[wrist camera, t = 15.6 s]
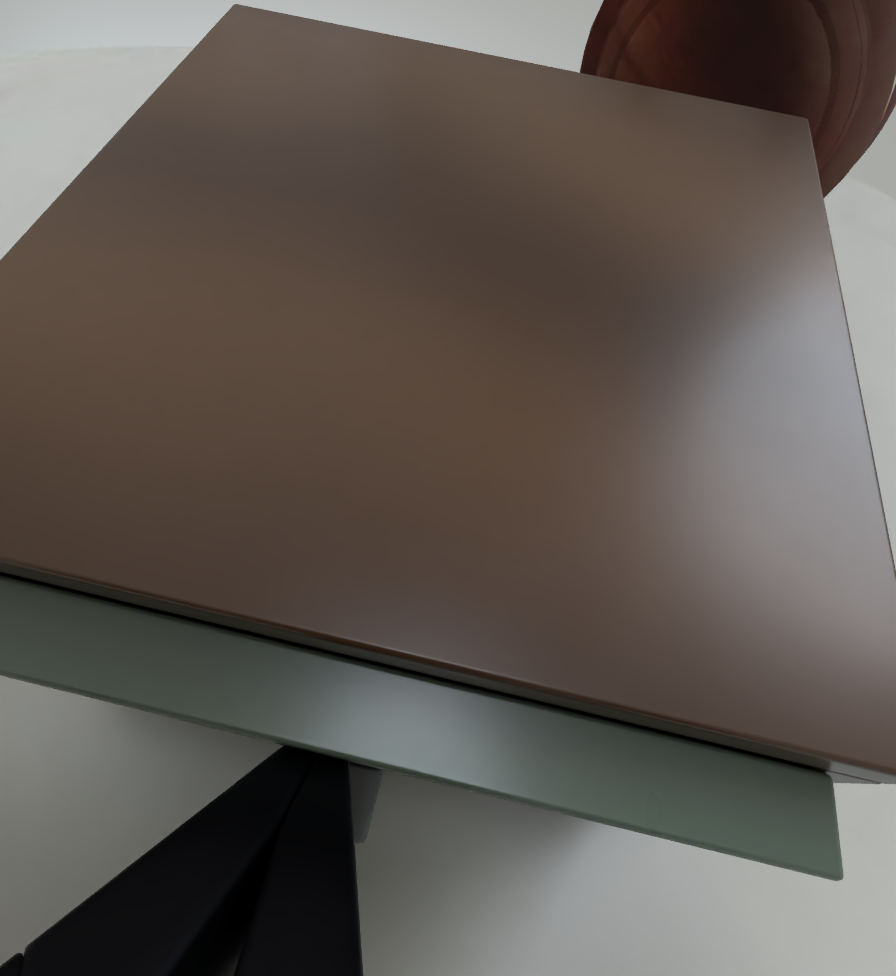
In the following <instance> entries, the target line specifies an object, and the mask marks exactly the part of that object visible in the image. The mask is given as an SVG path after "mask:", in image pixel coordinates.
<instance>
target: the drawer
mask: <svg viewBox="0 0 896 976" xmlns="http://www.w3.org/2000/svg"><path fill="white" fill-rule="evenodd" d="M0 675H1V676H5V677H9V678H13V679H17V680H21V681H25V682H29V683H33V684H37V685H41V686H46V687H50V688H54V689H58V690H62V691H66V692H70V693H74V694H78V695H82V696H86V697H90V698H94V699H98V700H102V701H106V702H111V703H115V704H119V705H123V706H127V707H131V708H135V709H139V710H143V711H147V712H151V713H155V714H159V715H163V716H167V717H171V718H176V719H180V720H184V721H188V722H192V723H196V724H200V725H204V726H208V727H212V728H216V729H220V730H224V731H228V732H232V733H237V734H241V735H245V736H249V737H253V738H257V739H261V740H265V741H269V742H273V743H277V744H281V745H285V746H289V747H293V748H297V749H302V750H306V751H310V752H314V753H318V754H322V755H326V756H330V757H334V758H338V759H342V760H346V761H349V769H350V784H351V799H352V814H353V829H354V844H359V843H363V842H364V841H365V839H366V837H367V833H368V829H369V825H370V821H371V817H372V813H373V809H374V804H375V800H376V796H377V792H378V788H379V784H380V780H381V776H382V770H381V769H383V770H387V771H391V772H395V773H399V774H403V775H407V776H411V777H415V778H419V779H423V780H427V781H432V782H436V783H440V784H444V785H448V786H452V787H456V788H460V789H464V790H468V791H472V792H476V793H480V794H484V795H488V796H492V797H497V798H501V799H505V800H509V801H513V802H517V803H521V804H525V805H529V806H533V807H537V808H541V809H545V810H549V811H553V812H557V813H562V814H566V815H570V816H574V817H578V818H582V819H586V820H590V821H594V822H598V823H602V824H606V825H610V826H614V827H618V828H623V829H627V830H631V831H635V832H639V833H643V834H647V835H651V836H655V837H659V838H663V839H667V840H671V841H675V842H679V843H683V844H688V845H692V846H696V847H700V848H704V849H708V850H712V851H716V852H720V853H724V854H728V855H732V856H736V857H740V858H744V859H748V860H753V861H757V862H761V863H765V864H769V865H773V866H777V867H781V868H785V869H789V870H793V871H797V872H801V873H805V874H809V875H813V876H818V877H822V878H826V879H830V880H834V881H839V880H842V879H843V868H842V859H841V850H840V841H839V832H838V823H837V815H836V806H835V797H834V788H833V780H832V778H831V776H830V775H828V774H826V773H824V772H820V771H816V770H812V769H808V768H804V767H799V766H795V765H791V764H787V763H783V762H779V761H774V760H770V759H766V758H762V757H758V756H754V755H749V754H745V753H741V752H737V751H733V750H729V749H724V748H720V747H716V746H712V745H708V744H703V743H699V742H695V741H691V740H687V739H683V738H678V737H674V736H670V735H666V734H662V733H658V732H653V731H649V730H645V729H641V728H637V727H633V726H628V725H624V724H620V723H616V722H612V721H608V720H603V719H599V718H595V717H591V716H587V715H582V714H578V713H574V712H570V711H566V710H562V709H557V708H553V707H549V706H545V705H541V704H537V703H532V702H528V701H524V700H520V699H516V698H512V697H507V696H503V695H499V694H495V693H491V692H487V691H482V690H478V689H474V688H470V687H466V686H461V685H457V684H453V683H449V682H445V681H441V680H436V679H432V678H428V677H424V676H420V675H416V674H411V673H407V672H403V671H399V670H395V669H391V668H386V667H382V666H378V665H374V664H370V663H366V662H361V661H357V660H353V659H349V658H345V657H340V656H336V655H332V654H328V653H324V652H320V651H315V650H311V649H307V648H303V647H299V646H295V645H290V644H286V643H282V642H278V641H274V640H270V639H265V638H261V637H257V636H253V635H249V634H245V633H240V632H236V631H232V630H228V629H224V628H219V627H215V626H211V625H207V624H203V623H199V622H194V621H190V620H186V619H182V618H178V617H174V616H169V615H165V614H161V613H157V612H153V611H149V610H144V609H140V608H136V607H132V606H128V605H124V604H119V603H115V602H111V601H107V600H103V599H98V598H94V597H90V596H86V595H82V594H78V593H73V592H69V591H65V590H61V589H57V588H53V587H48V586H44V585H40V584H36V583H32V582H28V581H23V580H19V579H15V578H11V577H7V576H3V575H0Z"/></svg>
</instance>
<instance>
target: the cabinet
mask: <svg viewBox="0 0 896 976" xmlns="http://www.w3.org/2000/svg"><path fill="white" fill-rule="evenodd" d="M0 575H3V576H7V577H11V578H15V579H19V580H23V581H28V582H32V583H36V584H40V585H44V586H48V587H53V588H57V589H61V590H65V591H69V592H73V593H78V594H82V595H86V596H90V597H94V598H98V599H103V600H107V601H111V602H115V603H119V604H124V605H128V606H132V607H136V608H140V609H144V610H149V611H153V612H157V613H161V614H165V615H169V616H174V617H178V618H182V619H186V620H190V621H194V622H199V623H203V624H207V625H211V626H215V627H219V628H224V629H228V630H232V631H236V632H240V633H245V634H249V635H253V636H257V637H261V638H265V639H270V640H274V641H278V642H282V643H286V644H290V645H295V646H299V647H303V648H307V649H311V650H315V651H320V652H324V653H328V654H332V655H336V656H340V657H345V658H349V659H353V660H357V661H361V662H366V663H370V664H374V665H378V666H382V667H386V668H391V669H395V670H399V671H403V672H407V673H411V674H416V675H420V676H424V677H428V678H432V679H436V680H441V681H445V682H449V683H453V684H457V685H461V686H466V687H470V688H474V689H478V690H482V691H487V692H491V693H495V694H499V695H503V696H507V697H512V698H516V699H520V700H524V701H528V702H532V703H537V704H541V705H545V706H549V707H553V708H557V709H562V710H566V711H570V712H574V713H578V714H582V715H587V716H591V717H595V718H599V719H603V720H608V721H612V722H616V723H620V724H624V725H628V726H633V727H637V728H641V729H645V730H649V731H653V732H658V733H662V734H666V735H670V736H674V737H678V738H683V739H687V740H691V741H695V742H699V743H703V744H708V745H712V746H716V747H720V748H724V749H729V750H733V751H737V752H741V753H745V754H749V755H754V756H758V757H762V758H766V759H770V760H774V761H779V762H783V763H787V764H791V765H795V766H799V767H804V768H808V769H812V770H816V771H820V772H824V773H826V774H828V775H830V776H831V778H832V780H833V783H861V784H881V783H884V784H896V570H895V565H894V560H893V555H892V550H891V544H890V539H889V534H888V529H887V524H886V519H885V514H884V508H883V503H882V498H881V493H880V488H879V483H878V477H877V472H876V467H875V462H874V457H873V452H872V447H871V441H870V436H869V431H868V426H867V421H866V416H865V410H864V405H863V400H862V395H861V390H860V385H859V380H858V374H857V369H856V364H855V359H854V354H853V349H852V343H851V338H850V333H849V328H848V323H847V318H846V312H845V307H844V302H843V297H842V292H841V287H840V282H839V276H838V271H837V266H836V261H835V256H834V251H833V245H832V240H831V235H830V230H829V225H828V220H827V215H826V209H825V204H824V199H823V194H822V189H821V184H820V178H819V173H818V168H817V163H816V158H815V153H814V148H813V142H812V137H811V132H810V127H809V122H808V119H807V118H803V117H798V116H793V115H788V114H783V113H778V112H773V111H768V110H763V109H758V108H753V107H748V106H743V105H738V104H733V103H728V102H723V101H718V100H713V99H708V98H703V97H698V96H693V95H688V94H683V93H678V92H673V91H668V90H663V89H658V88H653V87H648V86H643V85H638V84H633V83H628V82H623V81H618V80H613V79H608V78H603V77H598V76H593V75H588V74H583V73H577V72H573V71H568V70H563V69H557V68H553V67H547V66H543V65H538V64H533V63H527V62H523V61H518V60H513V59H508V58H503V57H497V56H493V55H487V54H483V53H478V52H473V51H468V50H463V49H458V48H453V47H447V46H443V45H437V44H433V43H428V42H423V41H418V40H413V39H408V38H403V37H398V36H392V35H388V34H383V33H378V32H373V31H368V30H363V29H358V28H353V27H348V26H343V25H337V24H333V23H327V22H323V21H318V20H313V19H307V18H303V17H298V16H292V15H288V14H283V13H278V12H272V11H268V10H263V9H257V8H252V7H248V6H242V5H238V4H235V5H233V6H232V8H231V9H230V10H229V11H228V12H227V13H226V14H225V15H224V16H223V17H222V18H221V20H220V21H219V22H218V23H217V24H216V25H215V26H214V27H213V28H212V29H211V30H210V32H209V33H208V34H207V35H206V36H205V37H204V38H203V39H202V41H200V42H199V44H198V45H197V46H196V47H195V48H194V49H193V50H192V51H191V52H190V53H189V55H188V56H187V57H186V58H185V59H184V60H183V61H182V62H181V63H180V64H179V65H178V67H177V68H176V69H175V70H174V71H173V72H172V73H171V74H170V75H169V76H168V77H167V79H166V80H165V81H164V82H163V83H162V84H161V85H160V86H159V87H158V88H157V90H156V91H155V92H154V93H153V94H152V95H151V96H150V97H149V98H148V99H147V100H146V102H145V103H144V104H143V105H142V106H141V107H140V108H139V109H138V110H137V111H136V112H135V114H134V115H133V116H132V117H131V118H130V119H129V120H128V121H127V122H126V123H125V125H124V126H123V127H122V128H121V129H120V130H119V131H118V132H117V133H116V134H115V135H114V137H113V138H112V139H111V140H110V141H109V142H108V143H107V144H106V145H105V146H104V147H103V149H102V150H101V151H100V152H99V153H98V154H97V155H96V156H95V157H94V158H93V160H92V161H91V162H90V163H89V164H88V165H87V166H86V167H85V168H84V169H83V170H82V172H81V173H80V174H79V175H78V176H77V177H76V178H75V179H74V180H73V181H72V182H71V184H70V185H69V186H68V187H67V188H66V189H65V190H64V191H63V192H62V193H61V195H60V196H59V197H58V198H57V199H56V200H55V201H54V202H53V203H52V204H51V205H50V207H49V208H48V209H47V210H46V211H45V212H44V213H43V214H42V215H41V216H40V217H39V219H38V220H37V221H36V222H35V223H34V224H33V225H32V226H31V227H30V228H29V230H28V231H27V232H26V233H25V234H24V235H23V236H22V237H21V238H20V239H19V240H18V242H17V243H16V244H15V245H14V246H13V247H12V248H11V249H10V250H9V251H8V252H7V254H6V255H5V256H4V257H3V258H2V259H1V260H0Z"/></svg>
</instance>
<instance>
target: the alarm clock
mask: <svg viewBox="0 0 896 976" xmlns="http://www.w3.org/2000/svg"><path fill="white" fill-rule="evenodd" d="M580 73H583V74H588V75H593V76H598V77H603V78H608V79H613V80H618V81H623V82H628V83H633V84H638V85H643V86H648V87H653V88H658V89H663V90H668V91H673V92H678V93H683V94H688V95H693V96H698V97H703V98H708V99H713V100H718V101H723V102H728V103H733V104H738V105H743V106H748V107H753V108H758V109H763V110H768V111H773V112H778V113H783V114H788V115H793V116H798V117H803V118H807V119H808V122H809V127H810V132H811V137H812V142H813V148H814V153H815V158H816V163H817V168H818V173H819V178H820V184H821V189H822V194H823V198H824V197H825V196H826V195H827V194H828V193H829V192H830V191H831V190H832V189H833V188H834V187H835V186H836V185H837V184H838V183H839V182H840V181H841V180H842V179H843V178H844V177H845V176H846V174H847V173H848V172H849V170H850V169H851V168H852V167H853V165H854V164H855V163H856V162H857V161H858V160H859V159H860V158H861V156H862V155H863V154H864V153H865V151H866V150H867V149H868V148H869V147H870V145H871V144H872V143H873V141H874V140H875V138H876V137H877V135H878V134H879V133H880V131H881V130H882V128H883V126H884V125H885V123H886V121H887V120H888V118H889V116H890V114H891V113H892V111H893V109H894V107H895V105H896V0H604V1H603V3H602V6H601V8H600V10H599V12H598V14H597V16H596V18H595V21H594V23H593V25H592V27H591V31H590V34H589V37H588V41H587V44H586V47H585V50H584V55H583V60H582V65H581V70H580Z"/></svg>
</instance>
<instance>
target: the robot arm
mask: <svg viewBox="0 0 896 976" xmlns="http://www.w3.org/2000/svg"><path fill="white" fill-rule="evenodd" d="M0 976H363V965H362V950H361V935H360V920H359V905H358V889H357V874H356V859H355V844H354V829H353V814H352V799H351V784H350V769H349V761H346V760H342V759H338V758H334V757H330V756H326V755H322V754H318V753H314V752H310V751H306V750H302V749H297V748H293V747H289V746H285V745H284V746H282V747H281V748H280V749H278V750H277V751H276V752H275V753H273V754H272V755H271V756H269V757H268V758H267V759H266V760H264V761H263V762H262V763H260V764H259V765H258V766H257V767H255V768H254V769H253V770H251V771H250V772H249V773H248V774H246V775H245V776H244V777H243V778H241V779H240V780H239V781H237V782H236V783H235V784H234V785H232V786H231V787H230V788H228V789H227V790H226V791H225V792H223V793H222V794H221V795H219V796H218V797H217V798H216V799H214V800H213V801H212V802H210V803H209V804H208V805H207V806H205V807H204V808H203V809H202V810H200V811H199V812H198V813H196V814H195V815H194V816H193V817H191V818H190V819H189V820H187V821H186V822H185V823H184V824H182V825H181V826H180V827H178V828H177V829H176V830H175V831H173V832H172V833H171V834H170V835H168V836H167V837H166V838H164V839H163V840H162V841H161V842H159V843H158V844H157V845H155V846H154V847H153V848H152V849H150V850H149V851H148V852H146V853H145V854H144V855H143V856H141V857H140V858H139V859H137V860H136V861H135V862H134V863H132V864H131V865H130V866H129V867H127V868H126V869H125V870H123V871H122V872H121V873H120V874H118V875H117V876H116V877H114V878H113V879H112V880H111V881H109V882H108V883H107V884H105V885H104V886H103V887H102V888H100V889H99V890H98V891H97V892H95V893H94V894H93V895H91V896H90V897H89V898H88V899H86V900H85V901H84V902H82V903H81V904H80V905H79V906H77V907H76V908H75V909H73V910H72V911H71V912H70V913H68V914H67V915H66V916H64V917H63V918H62V919H61V920H59V921H58V922H57V923H56V924H54V925H53V926H52V927H50V928H49V929H48V930H47V931H45V932H44V933H43V934H41V935H40V936H39V937H38V938H36V939H35V940H34V941H32V942H31V943H30V944H29V945H28V946H27V947H26V949H25V952H24V956H23V954H22V953H17V954H15V955H14V956H13V957H11V958H10V959H9V960H8V961H6V962H5V963H4V964H2V965H1V966H0Z"/></svg>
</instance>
